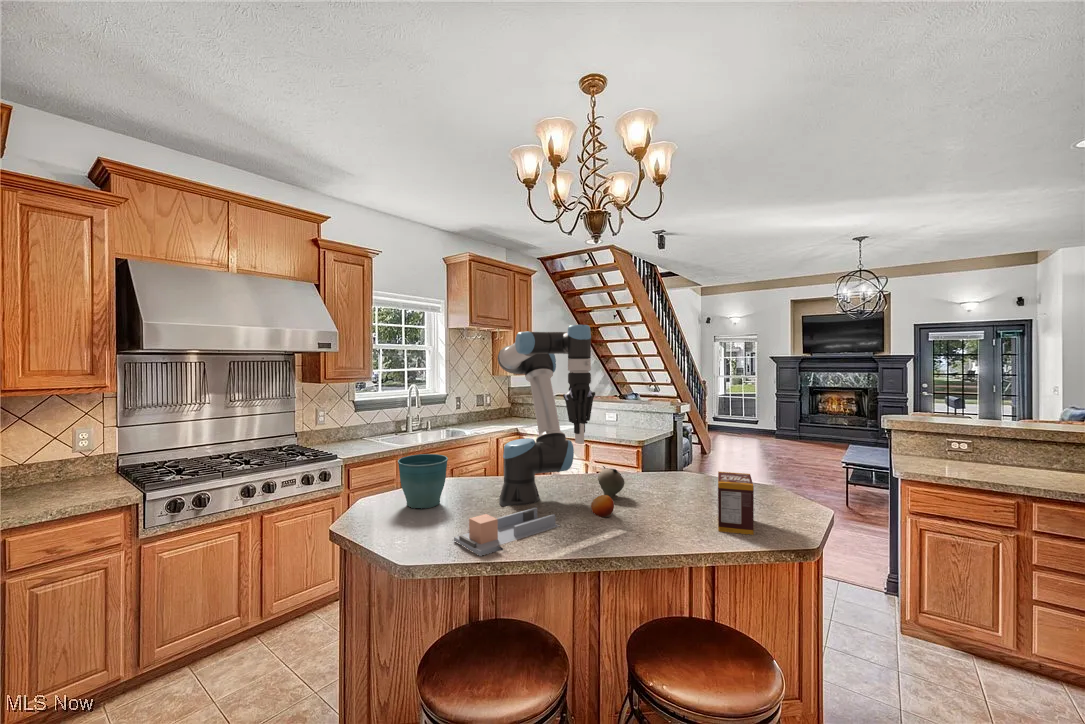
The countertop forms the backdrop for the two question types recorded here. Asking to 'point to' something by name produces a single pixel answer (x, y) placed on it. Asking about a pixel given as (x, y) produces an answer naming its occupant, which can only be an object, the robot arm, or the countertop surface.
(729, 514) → the supplement box
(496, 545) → the chute
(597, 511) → the fruit
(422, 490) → the flower pot
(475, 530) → the block
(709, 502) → the countertop surface
